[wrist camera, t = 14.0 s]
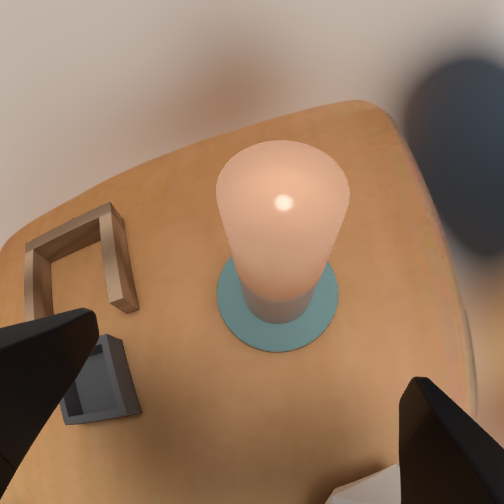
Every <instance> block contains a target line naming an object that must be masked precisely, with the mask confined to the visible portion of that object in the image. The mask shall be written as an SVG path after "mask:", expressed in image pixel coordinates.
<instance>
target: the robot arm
mask: <svg viewBox="0 0 504 504" xmlns="http://www.w3.org/2000/svg"><path fill="white" fill-rule="evenodd" d="M98 340H99V329H98V324H97V318H96V314H95V313H94V312H93V311H92V310H89V309H86V308H79V309H75V310H71V311H67V312H63V313H59V314H55V315H51V316H47V317H43V318H39V319H35V320H31V321H27V322H23V323H19V324H15V325H11V326H7V327H3V328H0V499H1V497H2V496H3V494H4V492H5V490H6V488H7V486H8V485H9V483H10V481H11V479H12V478H13V476H14V474H15V472H16V470H17V469H18V467H19V465H20V463H21V462H22V460H23V458H24V457H25V455H26V454H27V452H28V450H29V449H30V447H31V445H32V444H33V442H34V441H35V439H36V437H37V436H38V434H39V433H40V431H41V430H42V428H43V427H44V425H45V424H46V422H47V420H48V419H49V417H50V416H51V414H52V413H53V411H54V410H55V409H56V407H57V406H58V404H59V403H60V401H61V400H62V398H63V397H64V395H65V394H66V393H67V391H68V390H69V388H70V387H71V385H72V384H73V383H74V381H75V380H76V378H77V376H78V375H79V373H80V371H81V370H82V368H83V366H84V364H85V363H86V361H87V359H88V357H89V356H90V354H91V352H92V351H93V349H94V347H95V346H96V344H97V342H98ZM399 465H400V485H401V504H504V449H503V448H502V447H501V446H500V445H499V444H498V443H497V442H496V441H495V440H494V439H493V438H492V437H491V436H490V435H489V434H488V433H487V432H486V431H484V429H482V428H481V427H480V426H479V425H478V424H477V423H476V422H475V421H474V420H473V419H472V418H471V417H470V416H469V415H468V414H467V413H466V412H464V411H463V410H462V409H461V408H460V407H459V406H458V405H457V404H456V403H455V402H454V401H453V400H452V399H450V398H449V397H448V396H447V395H446V394H445V393H444V392H443V391H442V390H441V389H440V388H438V387H437V386H436V385H435V384H434V383H433V382H432V381H431V380H430V379H429V378H427V377H413V378H412V379H411V381H410V383H409V384H408V386H407V388H406V390H405V391H404V393H403V395H402V397H401V399H400V402H399Z"/></svg>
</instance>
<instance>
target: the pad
mask: <svg viewBox="0 0 504 504" xmlns="http://www.w3.org/2000/svg"><path fill="white" fill-rule="evenodd" d="M217 301H218V306H219V310H220V313H221V315H222V318H223V319H224V321H225V323H226V325H227V326H228V327H229V329H230V330H231V331H232V332H233V333H234V334H235V335H236V336H237V337H238V338H239V339H240V340H242V341H243V342H244V343H246V344H248V345H250V346H251V347H254V348H257V349H259V350H263V351H268V352H286V351H292V350H295V349H298V348H301V347H303V346H305V345H307V344H309V343H310V342H312V341H314V340H315V339H316V338H317V337H318V336H319V335H320V334H321V333H322V332H323V331H324V330H325V329H326V328H327V326H328V325H329V323H330V322H331V320H332V318H333V316H334V313H335V310H336V307H337V302H338V286H337V281H336V277H335V274H334V272H333V270H332V268H331V266H330V264H329V263H328V261H327V263H326V265H325V268H324V270H323V273H322V275H321V278H320V280H319V282H318V285H317V287H316V289H315V292H314V294H313V296H312V299H311V301H310V303H309V306H308V307H307V309H306V310H305V312H304V313H303V314H302V315H301V316H300V317H298V318H297V319H295V320H293V321H291V322H288V323H284V324H272V323H267V322H264V321H262V320H260V319H259V318H257V317H256V316H255V315H254V314H253V313H252V312H251V311H250V310H249V308H248V307H247V305H246V302H245V299H244V296H243V292H242V289H241V285H240V282H239V278H238V275H237V271H236V268H235V264H234V261H233V257H231V258H230V259H229V260H228V261H227V263H226V265H225V266H224V268H223V270H222V272H221V275H220V278H219V281H218V286H217Z"/></svg>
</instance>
